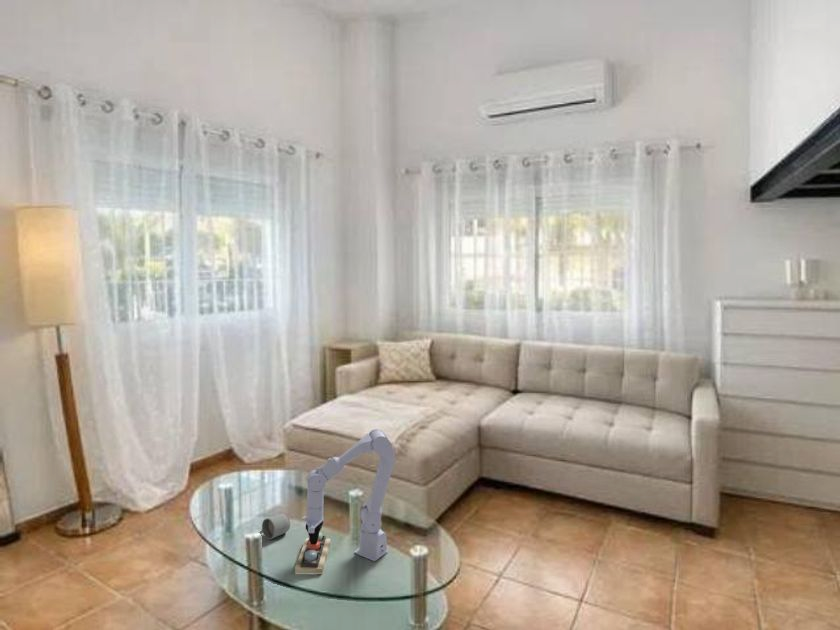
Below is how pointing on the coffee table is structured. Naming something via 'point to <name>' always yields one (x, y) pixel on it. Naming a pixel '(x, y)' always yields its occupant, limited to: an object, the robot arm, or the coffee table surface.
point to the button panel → (319, 563)
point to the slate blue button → (310, 555)
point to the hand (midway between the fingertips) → (313, 543)
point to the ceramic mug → (275, 526)
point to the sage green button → (320, 536)
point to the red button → (314, 546)
